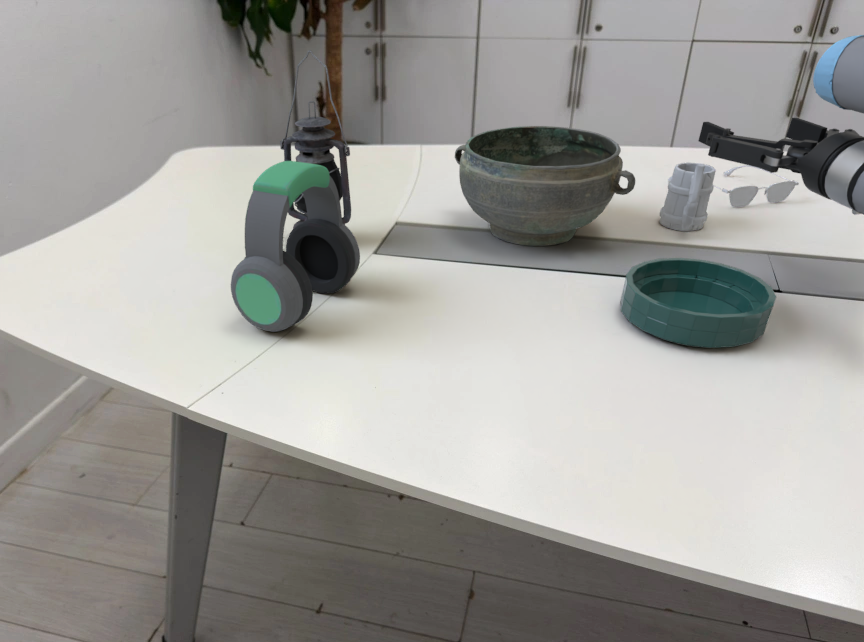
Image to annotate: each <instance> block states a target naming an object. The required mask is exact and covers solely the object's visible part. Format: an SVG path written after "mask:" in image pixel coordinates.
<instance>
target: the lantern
mask: <svg viewBox="0 0 864 642" xmlns="http://www.w3.org/2000/svg"><path fill="white" fill-rule="evenodd" d="M309 54H311V56H312V57H313V58H314V59H315V60H316V61H317V62H318V63H319V64H321V65H322V66H323V67H324V68H325V73H326V80H327V86H328V93H329V99H330V102H331V106H332V107H333V111H334V112H335V115H336V118H337V122H338V125H339V127H340V132H341V135H342V139H343V142H342V141H341V140H338V139H334V137H335V136H336V133H335V131H334V130H331V129H329V128H325V127H326V126H329V125H331V122H332V121H331V120H330V119H328V118H327V117H322V116H317V111H316V101H314V100H311V101H308V102H307V108H308V116H306V117H303V118H300V119H298V120H297V121H295V122H294V125H295V126H296V127H300V128H301V129H299V130H297V131H295V132H293V133H292V134H291V136H288V134H289V133H288V132H289V128H290V127H289V125H290V122H291V121H290V120H291V114H292V111H293V108H294V105H295V99H296V92H297V84H298V77H299V69H300V66H301V65H302V64H303V62H305V60H306V59H307V58H308V57H309ZM294 82H295V83H294V87H293V88H294V89H293V95H292V103H291V106H290V109H289V113H288V118H287V124H286V130H285V135H284V137H283V138H282V139H281V140H280V143H279V145H280V150H283V161H292V143H294V149H295V150H296V151H298V152H299V154H297V155H296V156H295V161H296V162H303V163H310V164H317V165H321V166H324V167H326V168H327V169H328V171H329V175H330V176H331V178H332V179H333V181H334V183H335V185H336V187H337V191H338V194H339V199H340V201H341V200H342V207H343V217H342V223H343V224H344V225H345V226H346V224H348V223H349V222H350V220H351V218H352V202H351V201H352V200H351V191H350V180H349V170H348V168H349V167H348V159H347V158H348V157H350V156H351V151H350V150H351V149H350V146H348V143H347V139H346V136H345V133H344V130H343V126H342V124H341V123H342V122H341V119H340V117H339V114H338V111H337V108H336V106H335V103H334V101H333V96H332V90H331V83H330V75H329V69H328V65H326V64H325V63H324V62H323V61H322V60H320V59H319V58H318V57H317V56H316V55H315V53H314V52H313V50H312V49H311V50H310V49H309V50H307V52H306V54H305V56H304V57H303V58H302V59H301V60H300V62H299V63H298V64H297V66H296V74H295V81H294ZM310 104H313V111H314V116H311V108H310V106H311V105H310ZM333 148H336V149H337V150H338V156H339V167H338V166H337V163H336V160H335V154H333V153H332V152H331V150H332V149H333ZM295 207H296V209H295ZM287 215H288V216H290V217H292V218H294V219H297V220H298V221H296V222H295V223H294V224H293V226H292V229H293V228H294V227H296V226H297V225H298V224H300V223H302V222H303V221H306V220H308V216H307V208H306V203H305V198H304V195H303V192H302V193H301V194H300V195H299V196H298V197H297V198H296V200H295V201H294V202H293V204H292V206H291V207H290V208H289V210H288V213H287Z"/></svg>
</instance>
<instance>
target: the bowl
mask: <svg viewBox="0 0 864 642" xmlns="http://www.w3.org/2000/svg"><path fill="white" fill-rule="evenodd" d="M621 150H622V149H621V147H620V145H619V143H617V142H616V141H615V140H614V139H612V138H610V137H608V136H607V135H604V134H601V133H598V132H594V131H590V130H585V129H580V128H572V127H564V126H552V125H551V126H550V125H522V126H520V125H519V126H510V127H504V128H503V127H502V128H496V129H491V130H490V129H489V130H485V131H483V132H480V133H477V134H475V135H473V136H471V137H469V139H467V141H466V142H465V144H462V145H459V146H458V147H457V148H456V149H455V152H454V159H455V161H456V163H457V164H458V165H459V171H458V172H459V175H458V176H459V185H460V188H461V192H462V194H463V197H464V199H465V201H466V202H467V205H469V207H470V208H471V210H472V211H473V212H474V213H475V214H476V215H477V216H479V217H480V218H481V219H482V220H484V221H486V222H487V223H489V231H490V233H491V234H492V236H494V237H495V238H498V239H499V240H502V241H504V242H506V243H507V242H508V243H510V244H516V245H520V246H528V247H529V246H531V247H532V246H533V247H535V246H536V247H545V246H556V245H561V244H564V243H567V242H569V241H570V240H572V239H573V237H574V236H575V234H576V232H577V229H580V228H583V227H584V226H587V225H589V224H591V223H592V222H593V221H594V220H596V219H597V218H598V217H599V216H601V214H603V212H604V210H605V209H606V208H607V206H608V205H609V203H610V202H611V200H612V199H613V197H614V195H615V194H616V195H619V196H620V195H621V196H625V195H628V194H629V193H631V192H633V190H634V189H635V186H636V177H635V175H634V173H632V172H631V171H628V170H623V166H624V161H623V159H622V157H621V156H620V154H621V152H622V151H621ZM621 177H622V178H624V179H627V187H625V188H624V187H621V185H620V181H621Z"/></svg>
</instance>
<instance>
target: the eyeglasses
mask: <svg viewBox="0 0 864 642" xmlns="http://www.w3.org/2000/svg"><path fill="white" fill-rule="evenodd" d="M742 168H755V169H757V170H761V171H764V172H766V173H769V174H772V175H774V176H776V177H780V178H781V179H785V181H779V182H775V183H772V184H770V185H769V186H768V187H767V186H762V187H758V186H757V185H743V186H737V187H734V188H732V189H726V188H721V187H719V186H716V185H714V184H713V186H714V188H717V189H719V190H721V192H723V193H725V194H728V197H729V198H728V199H729V204H730V206H731V207H732V208H742V207H746V206H749V205H750V203H752V201H753V200H755V198H756V196H757V194H758V192H759V190H763V189H765V190H764V193H763V194H764V196H765V197H766V200H767V202H768V203H770V204H778V203H780V202H783V201H785V200H786V199H788V197H789V196H790V195H791V194H792V193H793V192H792V191H793V190H794V189H795V187H796V186H799V184H800V182H799V181H796V180H791V179H788V178H786V177H783V176H781V175H778V174H776V173H771V172H769V171H766V170H763V169H761V168H758V167H754V166H750V165H745V164H743V165H739V166H735V167H733V168H732V167H731V168H729V169H728V170H725V171H724V172H723V175H724V176H730V175H731V174H732V173H733V172H735V171H737V170H738V169H742ZM728 171H729V172H728ZM671 178H672V175H671V176H670V177H668V179H667V181H668V182H669V181H670V180H671Z"/></svg>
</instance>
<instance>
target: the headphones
mask: <svg viewBox="0 0 864 642" xmlns="http://www.w3.org/2000/svg"><path fill="white" fill-rule="evenodd" d="M302 192H303V195H304V198H305V203H306V208H307V216H308V220H306V221H303V222H302V223H300V224H298V225H297V226H296V227H294V228H293V227H292V229H291V231H290V232H289V234H288V237H287V240H286V243H285V250H284V234H285V233H284V232H285V226H286V220H287V216H288V210H289V208H290V207H291V206H292V204H293V203H295V202H294V201H295V200H296V198H297V197H298V196H299V195H300V194H301V193H302ZM246 207H247V208H246V212H245V219H244V252H245V257H244V258H243V259H242V260H241V261H240V262H238V264H237V265H236V266H235V268H234V269H233V272H232V274H231V279H230V292H231V293H230V294H231V297H232V300H233V303H234V305H235V307H236V309H237V310H238V311H239V313H240V314H241V316H242V317H243V318H244V319H245V320H246V321H247V322H248V323H250V324H251V325H253V326H254V327H256V328H257V329H260V330H262V331H266V332H272V333H274V332H275V333H276V332H281V331H284V330H286V329H288V328H290V327H293V326H295V325H297V324H299V323H300V322H301V321H302V320H304V319H305V318H306V317H307V316H308V314H309V312H310V310H311V307H312V304H313V298H314V297H313V295H314V293H317V294H325V295H326V294H334V293H336V292H339V291H340V290H342V289H343V288H345V286H347V285H348V283H349V282H350V281H351V279H352V278H353V277H354V276H355V275H356V273H357V271H358V269H359V266H360V263H361V262H360V261H361V252H360V247H359V243H358V240H357V238H356V236H355V234H353V232H352V231H351V229H350V228H349V227H348V226H347V225H346V224H345V225H344V224H343V223H342V216H343V215H342V206H341V200H340V199H339V194H338V191H337V187H336V185H335V183H334V181H333V179H332V178H331V176H330V175H329V171H328V169H327V168H326V167H324V166H321V165H317V164H310V163H303V162H296V160H291V161H284V160H283V161H279V162H278V163H275V164H273V165H272V166H269V167H268V168H266V169H265V170H264V171H263V172H261V173H260V175H259V176H258V177H257V178H256V179H255V181H254V183H253V185H252V193H251V194H250V197H249V200H248V204H247V206H246ZM313 292H314V293H313Z"/></svg>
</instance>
